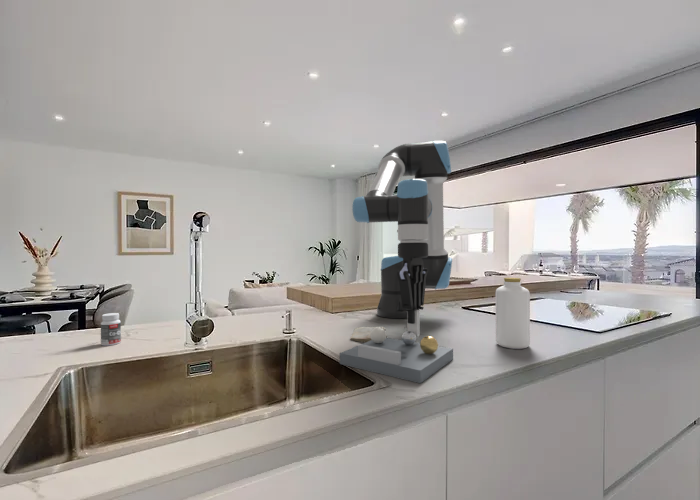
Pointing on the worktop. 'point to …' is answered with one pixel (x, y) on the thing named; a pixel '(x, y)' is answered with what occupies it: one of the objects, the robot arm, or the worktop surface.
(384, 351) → the board
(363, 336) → the stone
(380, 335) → the white ball
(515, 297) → the potion bottle
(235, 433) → the worktop surface
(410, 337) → the steel ball
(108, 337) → the pill bottle
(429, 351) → the brass ball
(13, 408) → the worktop surface
